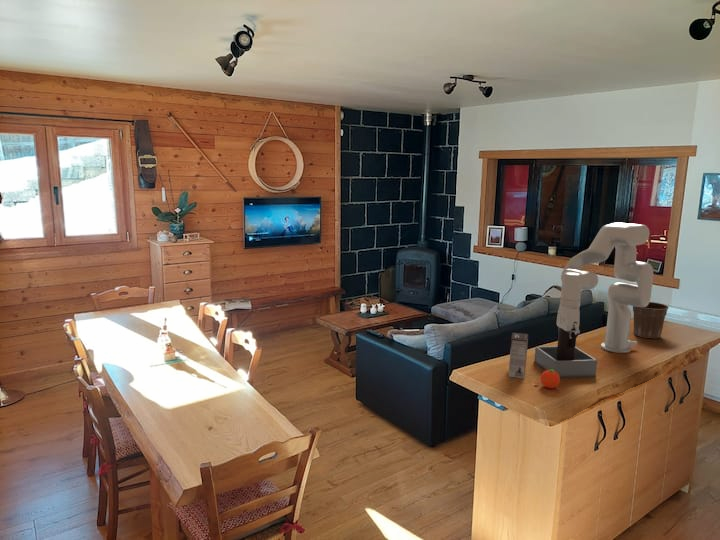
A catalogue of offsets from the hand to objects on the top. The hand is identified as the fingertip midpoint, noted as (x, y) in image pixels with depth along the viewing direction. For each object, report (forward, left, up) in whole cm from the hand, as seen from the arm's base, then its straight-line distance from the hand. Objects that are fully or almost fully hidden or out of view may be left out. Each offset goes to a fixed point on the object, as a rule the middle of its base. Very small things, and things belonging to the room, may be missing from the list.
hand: (566, 344), depth 212 cm
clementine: (+15, +17, -11) cm, 25 cm away
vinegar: (0, 0, -9) cm, 9 cm away
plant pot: (-67, -40, -11) cm, 79 cm away
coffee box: (+22, +3, -11) cm, 25 cm away
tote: (0, 0, -11) cm, 11 cm away
